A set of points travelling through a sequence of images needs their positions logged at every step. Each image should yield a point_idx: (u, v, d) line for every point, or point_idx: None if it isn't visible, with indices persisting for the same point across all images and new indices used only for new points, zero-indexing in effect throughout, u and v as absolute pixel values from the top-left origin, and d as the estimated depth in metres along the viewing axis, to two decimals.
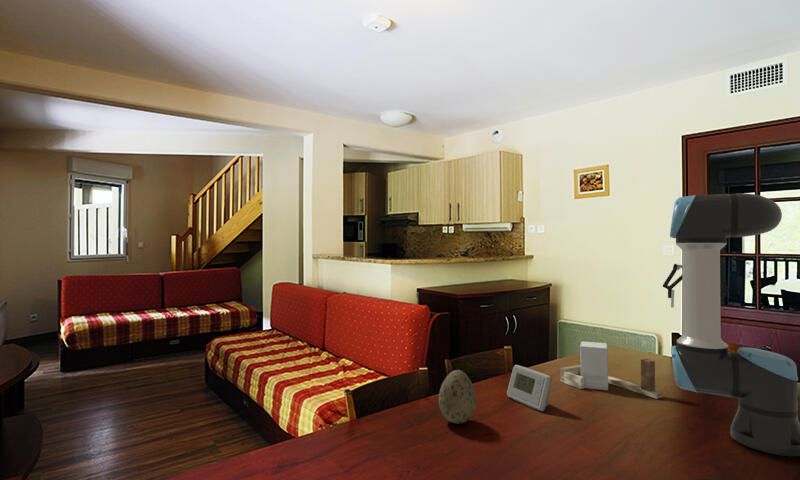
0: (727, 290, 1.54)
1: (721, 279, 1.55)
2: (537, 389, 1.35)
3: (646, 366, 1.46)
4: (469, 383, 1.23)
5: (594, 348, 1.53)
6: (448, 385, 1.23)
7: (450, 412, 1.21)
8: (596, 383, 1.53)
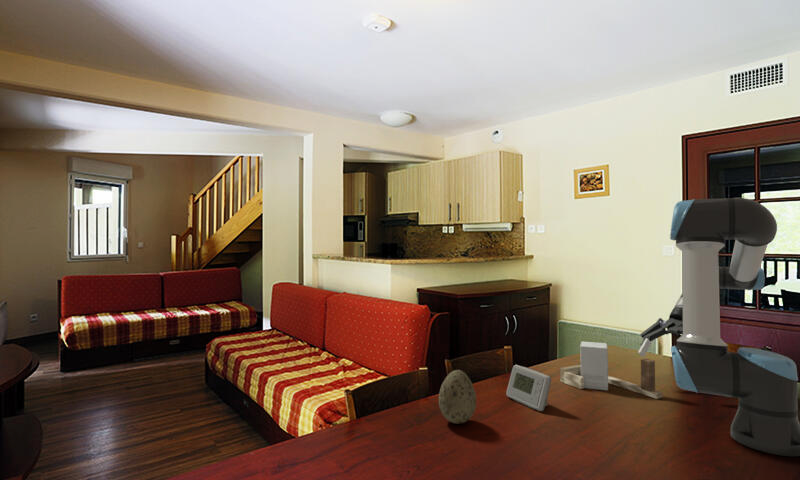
0: None
1: None
2: (536, 389, 1.35)
3: (646, 366, 1.46)
4: (469, 383, 1.23)
5: (594, 348, 1.53)
6: (448, 385, 1.23)
7: (450, 412, 1.21)
8: (596, 383, 1.53)
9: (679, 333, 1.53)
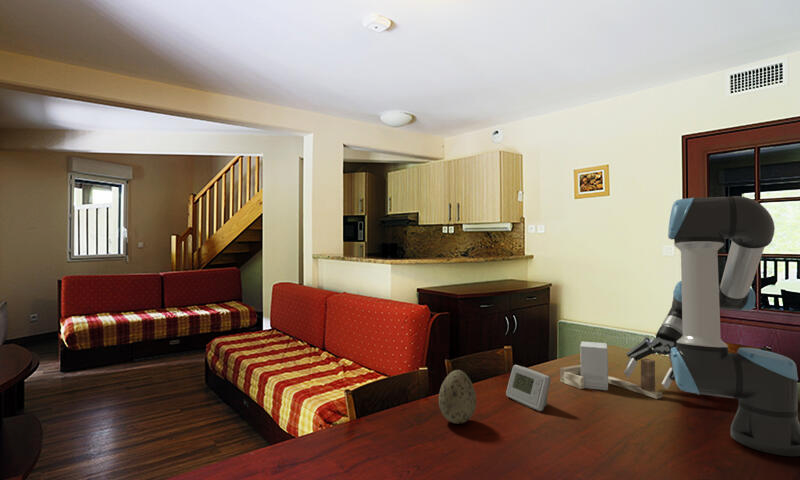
0: None
1: None
2: (536, 389, 1.35)
3: (646, 366, 1.46)
4: (469, 383, 1.23)
5: (594, 348, 1.53)
6: (448, 385, 1.23)
7: (450, 412, 1.21)
8: (596, 383, 1.53)
9: (665, 353, 1.49)
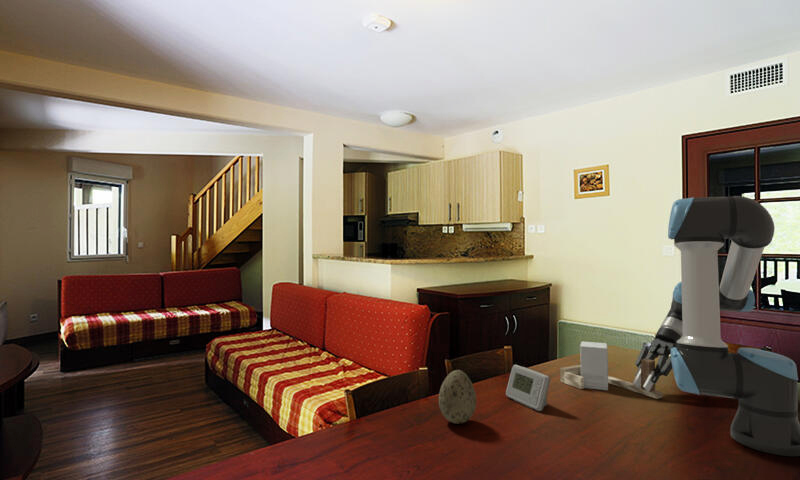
0: (662, 370, 1.43)
1: (669, 360, 1.44)
2: (535, 389, 1.35)
3: (647, 366, 1.46)
4: (469, 383, 1.23)
5: (594, 348, 1.53)
6: (448, 385, 1.23)
7: (450, 412, 1.21)
8: (596, 383, 1.53)
9: None
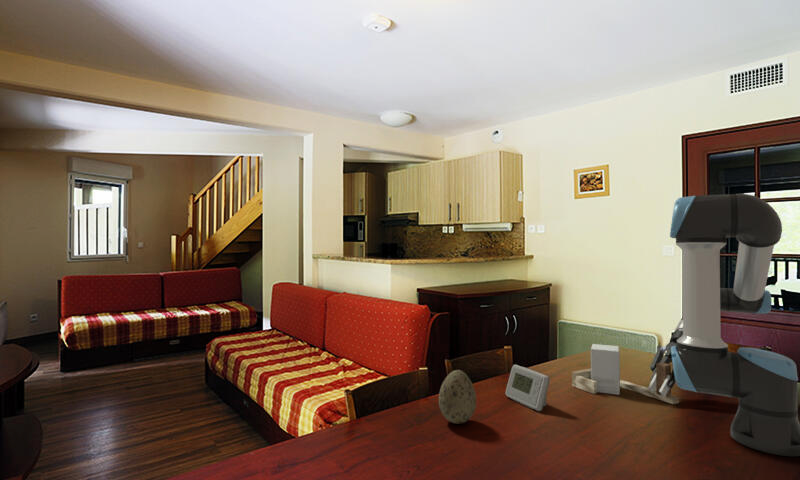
0: None
1: None
2: (535, 389, 1.35)
3: (662, 370, 1.41)
4: (469, 383, 1.23)
5: (605, 351, 1.49)
6: (448, 385, 1.23)
7: (450, 412, 1.21)
8: (607, 387, 1.48)
9: None
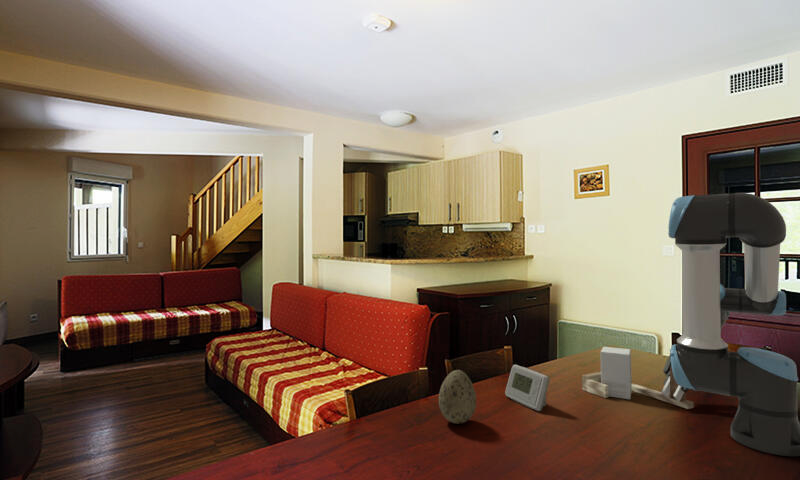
0: None
1: None
2: (534, 389, 1.35)
3: None
4: (469, 383, 1.23)
5: (615, 354, 1.45)
6: (448, 385, 1.23)
7: (450, 412, 1.21)
8: (618, 391, 1.44)
9: None
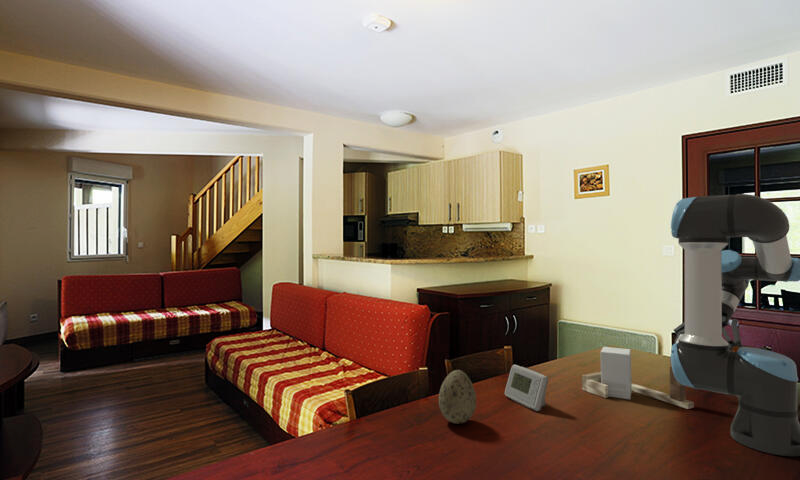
0: (737, 340, 1.36)
1: (735, 330, 1.39)
2: (533, 389, 1.35)
3: None
4: (469, 383, 1.23)
5: (615, 354, 1.45)
6: (448, 385, 1.23)
7: (450, 412, 1.21)
8: (618, 391, 1.44)
9: None
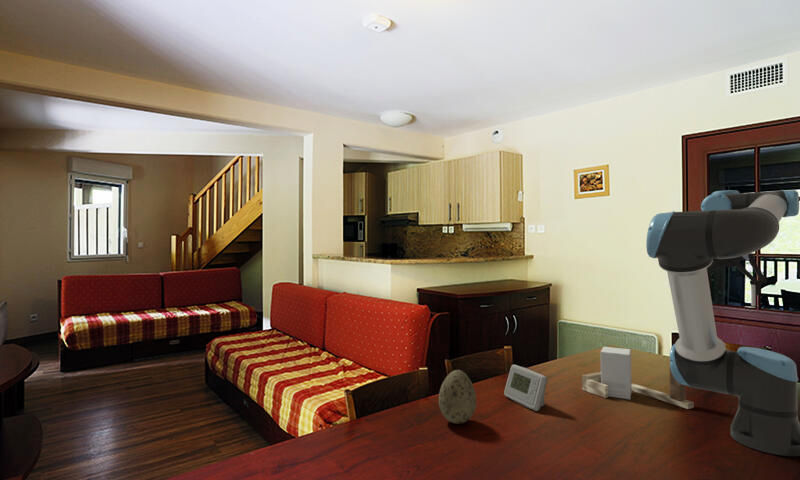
0: (765, 281, 1.34)
1: (757, 269, 1.35)
2: (532, 389, 1.36)
3: None
4: (469, 383, 1.23)
5: (615, 354, 1.45)
6: (448, 385, 1.23)
7: (450, 412, 1.21)
8: (618, 391, 1.44)
9: (733, 266, 1.40)
